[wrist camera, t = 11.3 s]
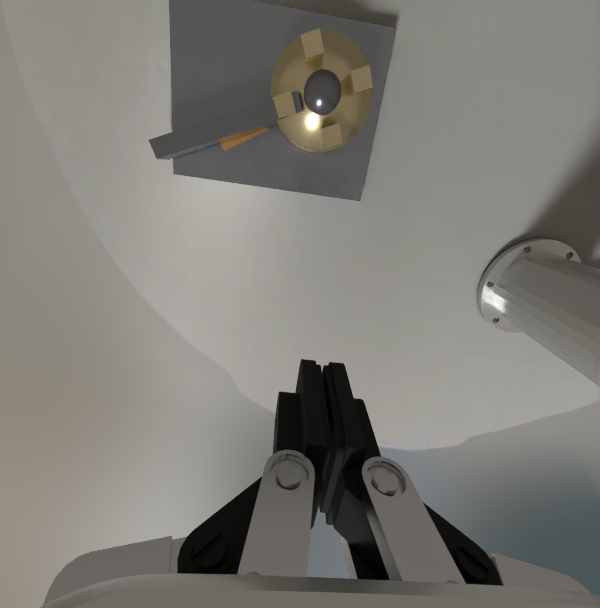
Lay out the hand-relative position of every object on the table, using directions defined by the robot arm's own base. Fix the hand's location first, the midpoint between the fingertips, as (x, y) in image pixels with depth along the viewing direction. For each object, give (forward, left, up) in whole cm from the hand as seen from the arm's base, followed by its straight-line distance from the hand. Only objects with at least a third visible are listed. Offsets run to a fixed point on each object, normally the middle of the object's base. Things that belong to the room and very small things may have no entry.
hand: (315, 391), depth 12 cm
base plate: (+4, -13, -27) cm, 30 cm away
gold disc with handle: (+5, -12, -25) cm, 28 cm away
